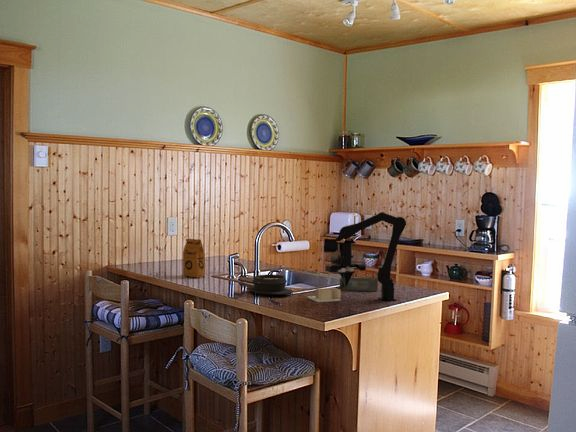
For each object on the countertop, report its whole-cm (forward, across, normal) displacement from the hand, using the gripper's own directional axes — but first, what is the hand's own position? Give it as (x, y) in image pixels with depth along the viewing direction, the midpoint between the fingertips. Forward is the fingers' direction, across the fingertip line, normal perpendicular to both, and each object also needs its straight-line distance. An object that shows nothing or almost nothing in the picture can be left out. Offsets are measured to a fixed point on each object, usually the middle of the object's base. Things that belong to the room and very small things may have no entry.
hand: (345, 285), depth 262 cm
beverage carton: (+6, -17, -18) cm, 25 cm away
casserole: (+5, +31, -21) cm, 38 cm away
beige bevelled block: (+3, +4, 0) cm, 5 cm away
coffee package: (+4, +55, -81) cm, 98 cm away
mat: (+6, +11, 0) cm, 12 cm away
